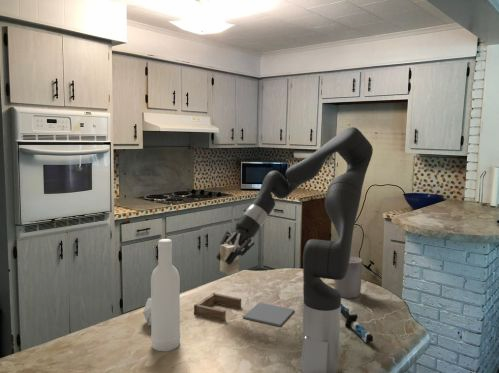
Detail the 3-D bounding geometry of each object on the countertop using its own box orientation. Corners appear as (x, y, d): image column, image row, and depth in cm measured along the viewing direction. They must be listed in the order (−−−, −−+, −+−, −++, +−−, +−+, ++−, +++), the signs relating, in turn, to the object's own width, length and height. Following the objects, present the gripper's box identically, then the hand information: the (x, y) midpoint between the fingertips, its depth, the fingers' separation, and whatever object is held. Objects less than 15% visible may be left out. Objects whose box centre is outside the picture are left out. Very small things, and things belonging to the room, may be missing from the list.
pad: (280, 326, 129) (280, 324, 129) (242, 318, 135) (242, 316, 135) (294, 311, 141) (294, 309, 141) (259, 304, 146) (259, 302, 146)
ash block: (238, 272, 138) (239, 245, 137) (227, 274, 135) (228, 247, 134) (231, 268, 141) (231, 242, 140) (220, 271, 139) (220, 244, 138)
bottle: (157, 354, 111) (156, 245, 108) (147, 342, 118) (145, 239, 114) (184, 346, 116) (184, 241, 112) (173, 335, 122) (173, 235, 119)
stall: (223, 320, 132) (223, 311, 132) (194, 314, 137) (194, 305, 137) (241, 307, 144) (241, 298, 143) (213, 301, 148) (213, 293, 148)
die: (137, 323, 131) (136, 307, 124) (153, 302, 137) (153, 286, 131) (159, 335, 129) (160, 320, 123) (174, 314, 135) (175, 298, 129)
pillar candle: (337, 287, 164) (339, 250, 162) (362, 292, 160) (364, 254, 158) (331, 295, 155) (332, 256, 154) (357, 300, 151) (359, 260, 149)
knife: (373, 350, 118) (375, 335, 117) (363, 350, 118) (364, 336, 117) (332, 297, 148) (333, 286, 147) (324, 298, 147) (325, 286, 146)
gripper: (271, 231, 138) (242, 273, 132) (245, 223, 150) (217, 262, 144) (259, 217, 135) (228, 260, 129) (233, 210, 146) (204, 249, 140)
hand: (222, 261), depth 136 cm, fingers closed on ash block, 4 cm apart
